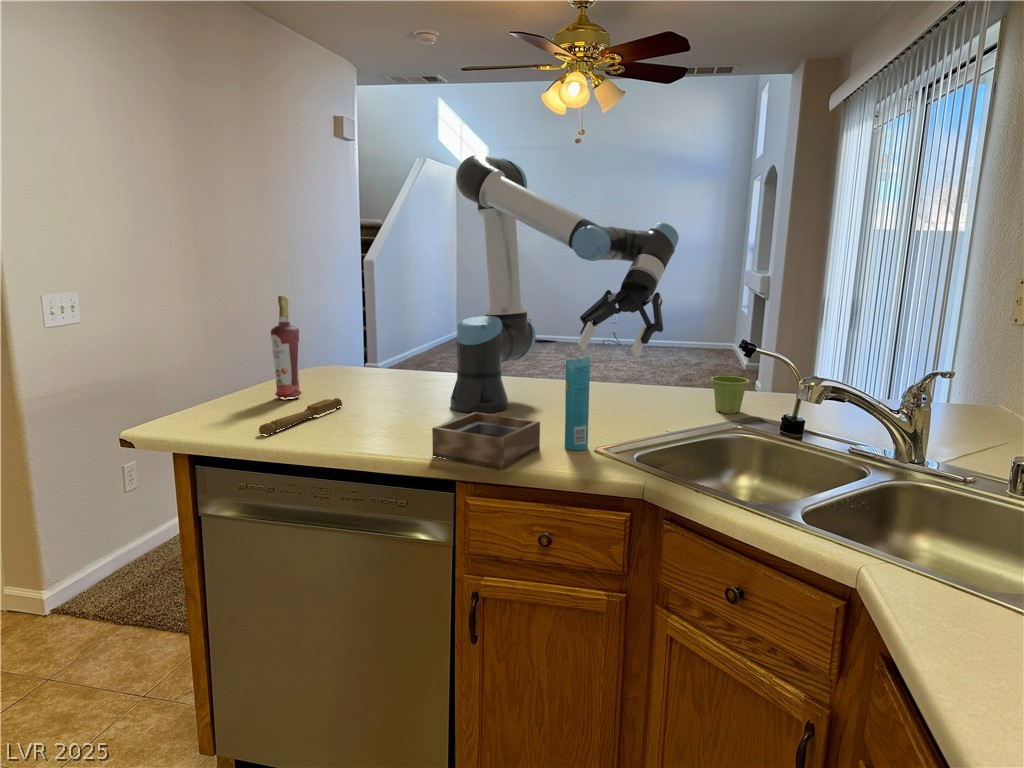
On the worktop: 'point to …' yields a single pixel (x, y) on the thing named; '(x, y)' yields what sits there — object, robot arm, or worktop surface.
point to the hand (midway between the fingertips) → (606, 350)
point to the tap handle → (300, 415)
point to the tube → (577, 403)
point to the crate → (486, 440)
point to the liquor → (286, 353)
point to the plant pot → (729, 393)
